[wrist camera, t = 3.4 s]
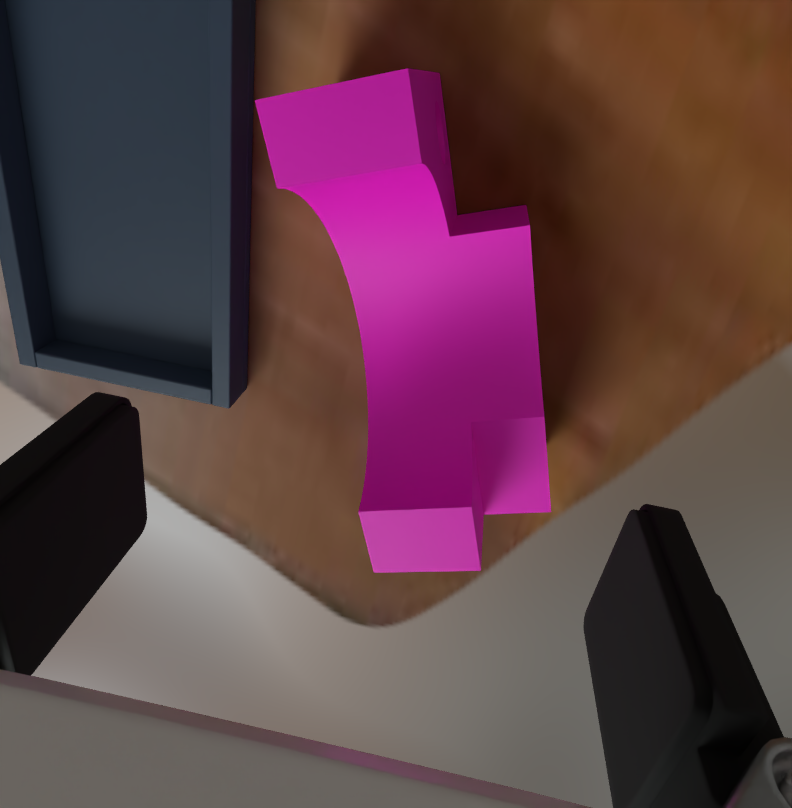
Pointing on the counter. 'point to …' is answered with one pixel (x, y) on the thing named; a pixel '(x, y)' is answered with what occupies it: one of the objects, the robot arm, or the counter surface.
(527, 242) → the toy block
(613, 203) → the counter surface
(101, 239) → the rectangular tray
